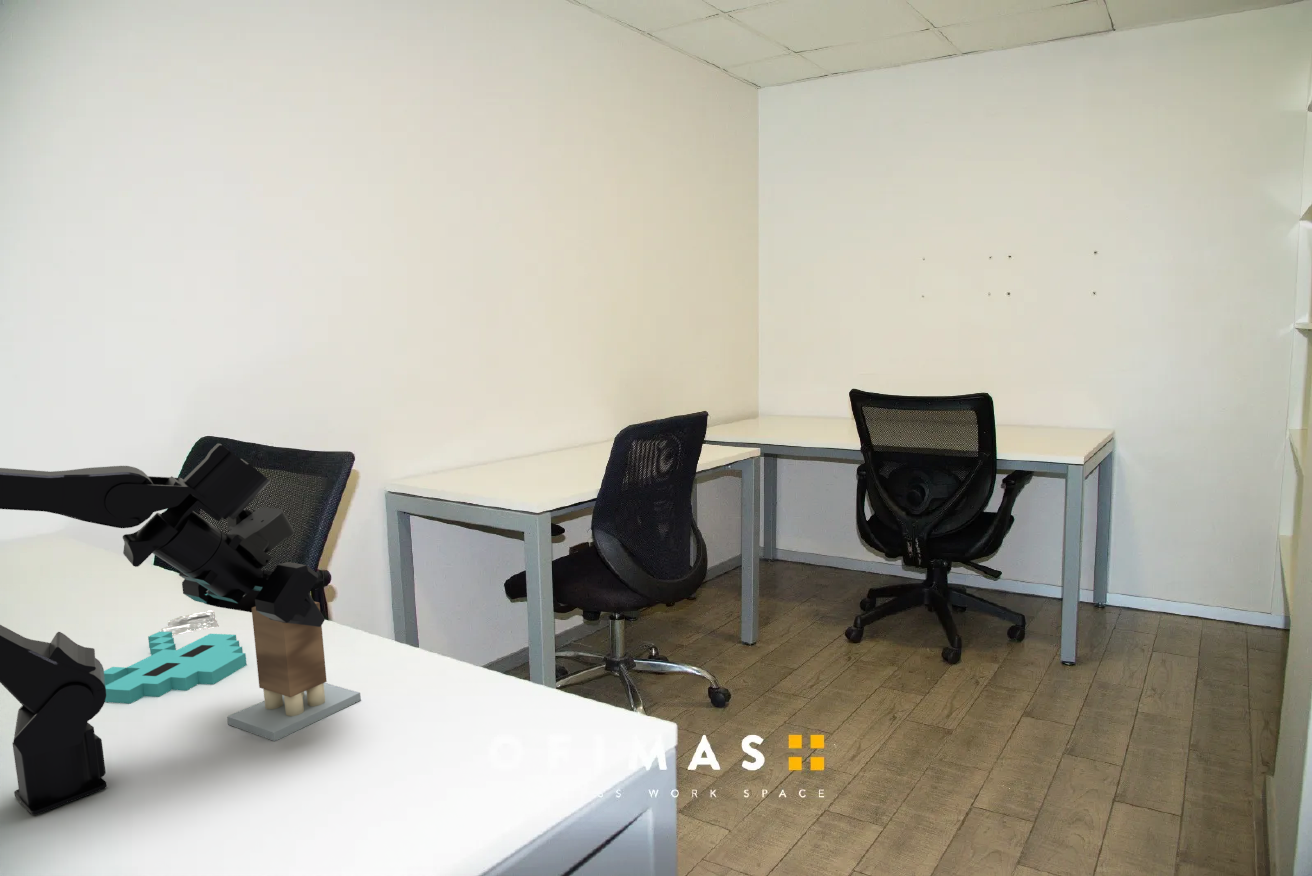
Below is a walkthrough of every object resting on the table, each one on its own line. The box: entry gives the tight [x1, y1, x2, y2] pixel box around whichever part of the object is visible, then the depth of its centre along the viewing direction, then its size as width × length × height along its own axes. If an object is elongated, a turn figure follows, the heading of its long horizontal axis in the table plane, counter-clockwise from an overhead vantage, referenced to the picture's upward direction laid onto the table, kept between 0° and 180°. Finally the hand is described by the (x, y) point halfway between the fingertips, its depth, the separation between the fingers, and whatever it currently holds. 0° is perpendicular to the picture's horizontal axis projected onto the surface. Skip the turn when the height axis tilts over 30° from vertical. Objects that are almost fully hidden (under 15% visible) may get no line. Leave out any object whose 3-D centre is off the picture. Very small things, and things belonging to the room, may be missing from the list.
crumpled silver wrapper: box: [160, 609, 220, 637], centre depth 138 cm, size 8×7×2 cm
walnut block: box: [251, 601, 328, 697], centre depth 103 cm, size 5×6×10 cm
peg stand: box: [226, 682, 362, 742], centre depth 104 cm, size 12×9×4 cm
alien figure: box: [104, 631, 247, 705], centre depth 119 cm, size 20×2×20 cm
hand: (297, 617), depth 104 cm, fingers open, 9 cm apart
